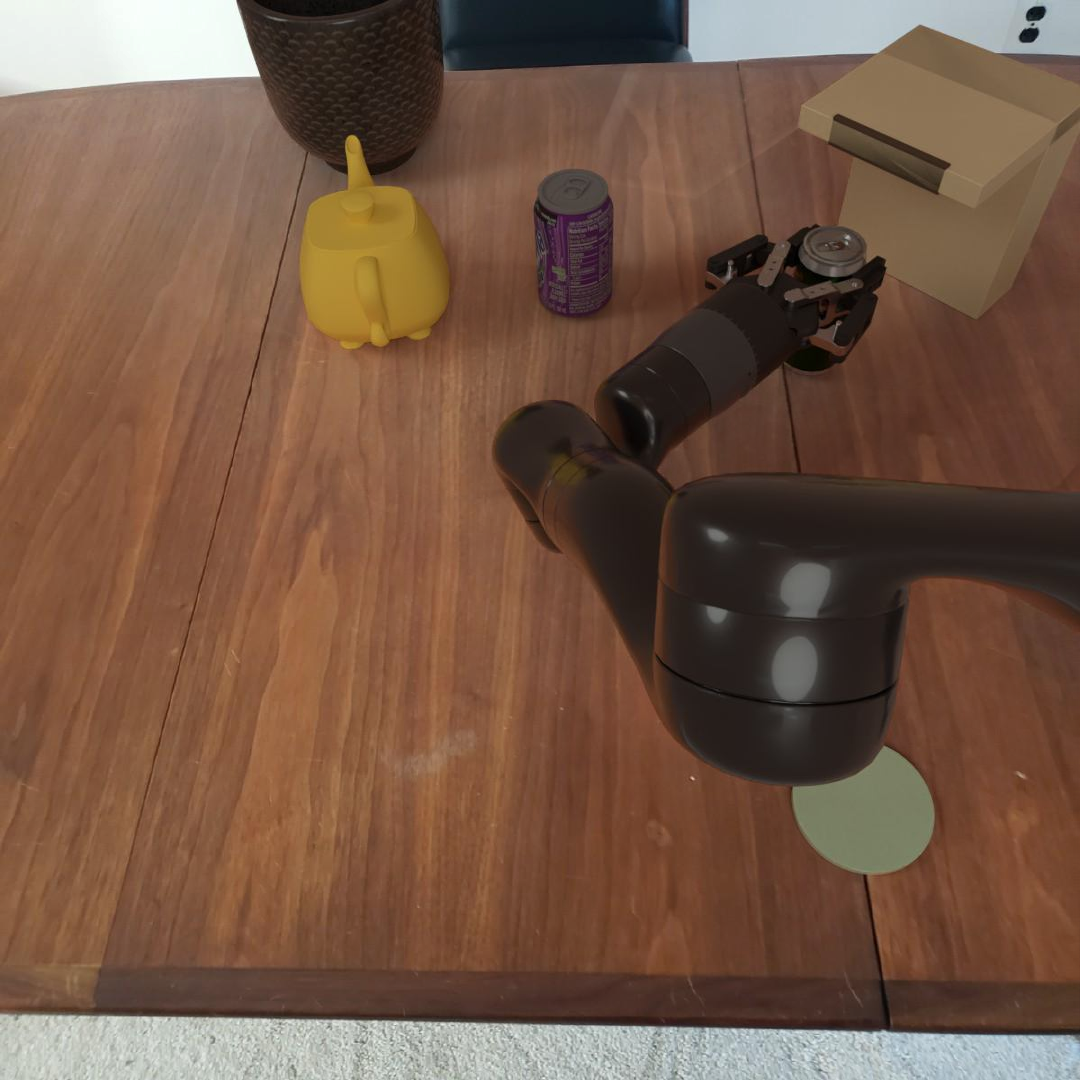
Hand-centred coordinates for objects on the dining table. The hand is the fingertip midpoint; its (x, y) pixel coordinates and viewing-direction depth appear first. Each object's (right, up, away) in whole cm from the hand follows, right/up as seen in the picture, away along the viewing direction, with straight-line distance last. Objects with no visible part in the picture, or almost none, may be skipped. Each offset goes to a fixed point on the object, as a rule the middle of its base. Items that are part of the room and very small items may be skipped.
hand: (848, 250), depth 79 cm
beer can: (-1, -7, +7) cm, 11 cm away
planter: (-44, +21, +31) cm, 58 cm away
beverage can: (-22, 0, +15) cm, 26 cm away
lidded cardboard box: (+9, +1, +14) cm, 16 cm away
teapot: (-41, -1, +16) cm, 43 cm away
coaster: (-4, -41, -16) cm, 44 cm away
